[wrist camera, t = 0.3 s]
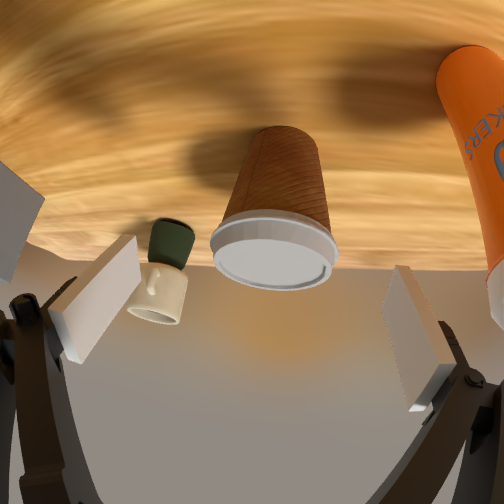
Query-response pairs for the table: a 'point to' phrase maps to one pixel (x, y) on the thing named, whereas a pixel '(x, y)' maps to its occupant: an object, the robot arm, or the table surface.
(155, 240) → the character mug
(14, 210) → the block
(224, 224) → the disposable coffee cup
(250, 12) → the table surface
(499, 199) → the shaker bottle
